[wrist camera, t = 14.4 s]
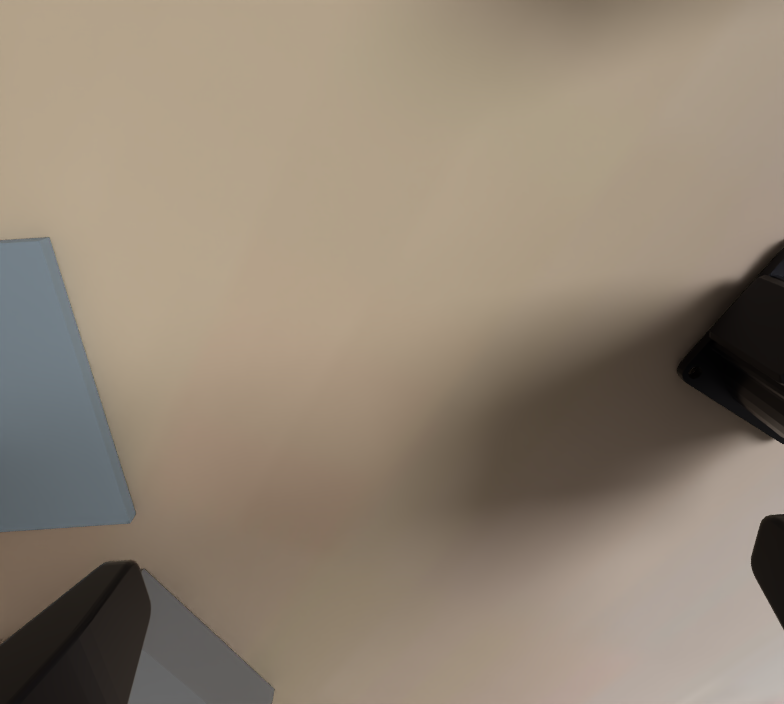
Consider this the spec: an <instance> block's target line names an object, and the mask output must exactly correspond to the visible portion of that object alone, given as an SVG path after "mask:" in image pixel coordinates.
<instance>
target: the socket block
mask: <svg viewBox="0 0 784 704" xmlns="http://www.w3.org/2000/svg"><path fill="white" fill-rule="evenodd" d="M141 573H142V576H143V579H144V582H145V585H146V588H147V591H148V594H149V597H150V601H151V616H150V621H149V625H148V629H147V633H146V636H145V640H144V644H143V648H142V652H141V655H140V659H139V663H138V667H137V671H136V674H135V678H134V682H133V686H132V690H131V694H130V697H129V701H128V704H272V700H273V694H274V688H273V687H271V686H270V685H269V684H268V683H267V682H266V681H265V680H264V679H263V678H262V677H261V676H260V675H258V674H257V673H256V672H255V671H254V670H253V669H252V668H251V667H250V666H249V665H248V664H247V663H245V662H244V661H243V660H242V659H241V658H240V657H239V656H238V655H237V654H236V653H235V652H234V651H233V650H231V649H230V648H229V647H228V646H227V645H226V644H225V643H224V642H223V641H222V640H221V639H220V638H218V637H217V636H216V635H215V634H214V633H213V632H212V631H211V630H210V629H209V628H208V627H207V626H205V625H204V624H203V623H202V622H201V621H200V620H199V619H198V618H197V617H196V616H195V615H194V614H192V613H191V612H190V611H189V610H188V609H187V608H186V607H185V606H184V605H183V604H182V603H181V602H179V601H178V600H177V599H176V598H175V597H174V596H173V595H172V594H171V593H170V592H169V591H168V590H166V589H165V588H164V587H163V586H162V585H161V584H160V583H159V582H158V581H157V580H156V579H155V578H153V577H152V576H151V575H150V574H149V573H148V572H147V571H146V570H145V569H142V570H141Z"/></svg>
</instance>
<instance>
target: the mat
mask: <svg viewBox="0 0 784 704" xmlns="http://www.w3.org/2000/svg"><path fill="white" fill-rule="evenodd" d="M135 514H136V513H135V509H134V506H133V503H132V500H131V497H130V493H129V490H128V487H127V484H126V481H125V477H124V474H123V471H122V468H121V465H120V461H119V458H118V455H117V452H116V449H115V445H114V442H113V439H112V436H111V433H110V430H109V426H108V423H107V420H106V417H105V414H104V410H103V407H102V404H101V401H100V398H99V394H98V391H97V388H96V385H95V382H94V378H93V375H92V372H91V369H90V366H89V362H88V359H87V356H86V353H85V350H84V347H83V343H82V340H81V337H80V334H79V331H78V327H77V324H76V321H75V318H74V315H73V311H72V308H71V305H70V302H69V299H68V295H67V292H66V289H65V286H64V283H63V280H62V276H61V273H60V270H59V267H58V264H57V260H56V257H55V254H54V251H53V248H52V244H51V241H50V238H49V237H45V238H29V239H14V240H0V532H10V531H25V530H39V529H54V528H69V527H84V526H98V525H113V524H128V523H131V521H132V519H133V518H134V516H135Z"/></svg>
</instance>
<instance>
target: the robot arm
mask: <svg viewBox="0 0 784 704" xmlns="http://www.w3.org/2000/svg"><path fill="white" fill-rule="evenodd" d="M694 367H696V370H695V371H694V372H693V373H692V374H689V371H690V370H691V369H692V368H694ZM677 374H678V376H679V377H680V378H681V379H682V380H683V381H685V382H686V383H687V384H689V385H691V386H692V387H694V388H695V389H697V390H698V391H700V392H702V393H703V394H705V395H706V396H708V397H709V398H711V399H713V400H714V401H716V402H717V403H719V404H720V405H722V406H724V407H725V408H727V409H728V410H730V411H731V412H733V413H735V414H736V415H738V416H739V417H741V418H742V419H744V420H746V421H747V422H749V423H750V424H752V425H753V426H755V427H757V428H758V429H760V430H761V431H763V432H764V433H766V434H768V435H769V436H771V437H772V438H774V439H776V440H777V441H779V442H780V443H782V444H784V248H783V249H782V250H781V251H780V252H779V253H778V254H777V256H776V257H775V258H774V259H773V260H772V261H771V262H770V263H769V264H768V266H767V267H766V268H765V269H764V270H763V271H762V272H761V273H760V274H759V276H758V277H757V278H756V279H755V280H754V281H753V282H752V283H751V284H750V286H749V287H748V288H747V289H746V290H745V291H744V292H743V293H742V295H741V296H740V297H739V298H738V299H737V300H736V301H735V302H734V303H733V305H732V306H731V307H730V308H729V309H728V310H727V311H726V312H725V313H724V315H723V316H722V317H721V318H720V319H719V320H718V321H717V322H716V323H715V325H714V326H713V327H712V328H711V329H710V330H709V331H708V332H707V333H706V335H705V336H704V337H703V338H702V339H701V340H700V341H699V342H698V344H697V345H696V346H695V347H694V348H693V349H692V350H691V351H690V352H689V354H688V355H687V356H686V357H685V358H684V359H683V360H682V361H681V362H680V364H679V366H678V368H677ZM751 566H752V571H753V573H754V576H755V578H756V580H757V582H758V584H759V585H760V587H761V589H762V591H763V593H764V594H765V596H766V598H767V600H768V602H769V604H770V605H771V607H772V609H773V611H774V613H775V615H776V616H777V618H778V620H779V622H780V624H781V626H782V627H783V629H784V514H779V515H769V516H766V517H765V518H764V519H763V520H762V521H761V523H760V527H759V530H758V534H757V537H756V541H755V545H754V548H753V552H752V555H751ZM150 616H151V601H150V597H149V594H148V591H147V588H146V585H145V582H144V579H143V576H142V573H141V570H140V567H139V565H138V564H137V563H136V562H135V561H133V560H121V561H109V562H105V563H103V564H102V565H100V566H99V567H98V568H96V569H95V570H94V571H92V572H91V573H90V574H89V575H87V576H86V577H85V578H84V579H82V580H81V581H80V582H79V583H77V584H76V585H75V586H74V587H72V588H71V589H70V590H69V591H67V592H66V593H65V594H64V595H62V596H61V597H60V598H59V599H57V600H56V601H55V602H54V603H52V604H51V605H50V606H48V607H47V608H46V609H45V610H43V611H42V612H41V613H40V614H38V615H37V616H36V617H35V618H33V619H32V620H31V621H30V622H28V623H27V624H26V625H25V626H23V627H22V628H21V629H20V630H18V631H17V632H16V633H15V634H13V635H12V636H11V637H10V638H8V639H7V640H6V641H4V642H3V643H2V644H1V645H0V704H128V701H129V697H130V694H131V690H132V686H133V682H134V678H135V674H136V671H137V667H138V663H139V659H140V655H141V652H142V648H143V644H144V640H145V636H146V633H147V629H148V625H149V621H150Z"/></svg>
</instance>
